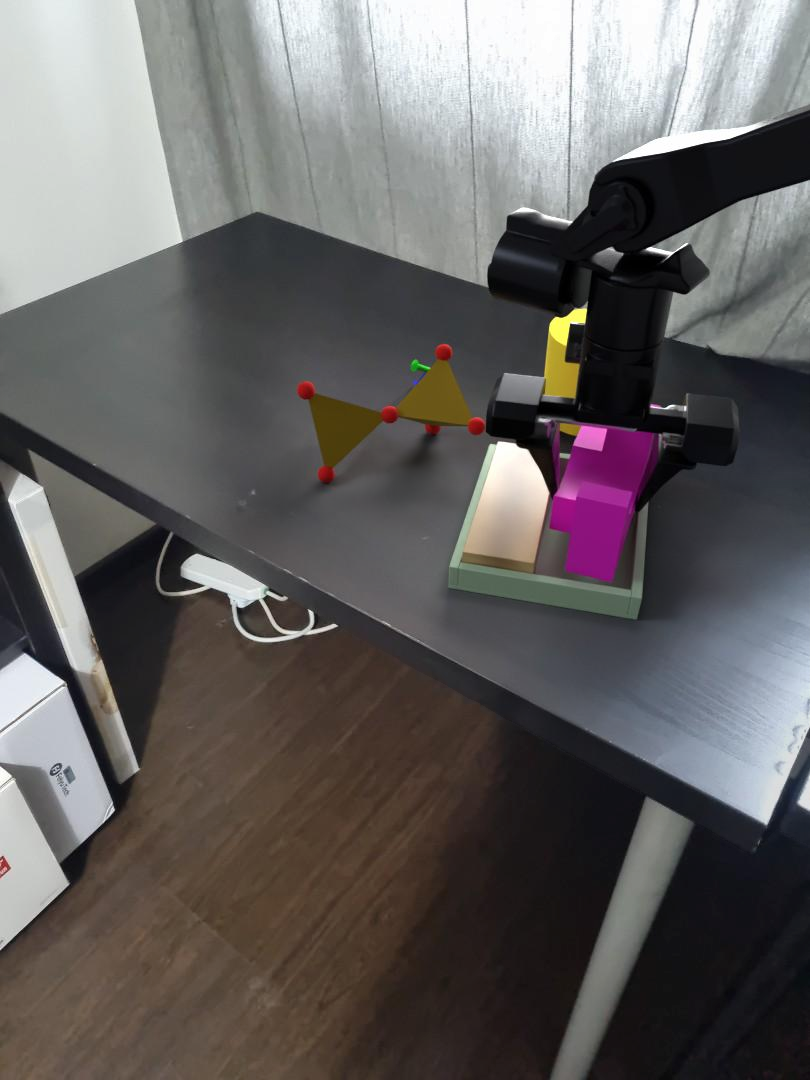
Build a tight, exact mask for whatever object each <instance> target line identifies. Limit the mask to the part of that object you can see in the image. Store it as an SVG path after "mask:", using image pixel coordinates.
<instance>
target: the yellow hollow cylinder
mask: <svg viewBox="0 0 810 1080" xmlns="http://www.w3.org/2000/svg"><path fill="white" fill-rule="evenodd" d="M586 311H587V308H577V309H574V310H573V311H572V312H571V313H570V314H569V315H568V316H566V317H564V318H558V317H554V318H553V319H552V320H551V322H550V323H549V328H548V334H547V335H548V336H547V345H546V354H545V365H544V375H543V378H546V387H545V395H550V396H559V397H568V398H575V395H576V387H577V380H578V372H579V364H575V363H566V362H565V353H566V345H567V339H568V333H569V327H570V322H579V323H585V319H586ZM580 429H581V426H580V425H572V424H564V423H560V432H562V433H564V434H566V435H571V436H574V437H577V435H578V433H579V431H580Z"/></svg>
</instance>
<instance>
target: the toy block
mask: <svg viewBox="0 0 810 1080" xmlns="http://www.w3.org/2000/svg"><path fill="white" fill-rule="evenodd" d="M651 407H658V408H661V405H658V404H653V403H651ZM655 435H656V433H648V432H640V431H637V432H629V431H621V430H613V429H605V428H596V427H588V426H581V429H580V431H579V433H578V435H577V436H576V437H575V439H574V442H573V444H572V448H571V451H570V454H571V455H570V458H569V462H568V465H567V468H566V471H565V474H564V477H563V479H562V482H561V484H560V486H559V488H558V491H557V492H556V494H555V495H554V497H553V504H552V512H551V519H550V527H549V529H553V530H557V531H561V532H566V533H570V534H571V535H570V541H569V548H568V554H567V561H566V567H565V571H568V572H572V573H576V574H580V575H584V576H588V577H591V578H595V579H599V580H603V581H607V582H611V583H612V581H613V577H614V574H615V571H616V568H617V565H618V561H619V558H620V555H621V552H622V549H623V546H624V542H625V539H626V536H627V533H628V530H629V526H630V523H631V520H632V517H633V514H634V511H635V503H636V497H637V493H638V488H639V485H640V482H641V479H642V476H643V474H644V471H645V468H646V465H647V462H648V459H649V457H650V454H651V451H652V448H653V444H654V439H655Z"/></svg>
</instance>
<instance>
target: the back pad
mask: <svg viewBox="0 0 810 1080" xmlns="http://www.w3.org/2000/svg"><path fill="white" fill-rule="evenodd" d="M496 445H497V446H496V449H495V452H494V455H493V458H492V461H491V464H490V468H489V471H488V474H487V477H486V480H485V483H484V486H483V490H482V493H481V496H480V499H479V502H478V505H477V508H476V511H475V515H474V518H473V521H472V524H471V527H470V530H469V533H468V537H467V540H466V543H465V546H464V549H463V554H462V562H463V563H469V564H475V565H481V566H487V567H493V568H499V569H506V570H512V571H518V572H524V573H530V574H535V571H536V566H537V561H538V557H539V552H540V547H541V542H542V538H543V533H544V528H545V524H546V519H547V514H548V510H549V505H550V500H551V496H550V493H549V491H548V488H547V486H546V483H545V481H544V478H543V476H542V474H541V471H540V469H539V468H538V466H537V464H536V463H535V461H534V459H533V458H532V456H531V454H530V453H529V451H528V450H527V449H522V448H519V447H517V445H516V443H514V442H506V441H497V443H496Z"/></svg>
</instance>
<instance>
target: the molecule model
mask: <svg viewBox="0 0 810 1080" xmlns="http://www.w3.org/2000/svg"><path fill="white" fill-rule="evenodd" d="M434 353H435V357H436V359H437V360H436V361H435V362H434V363H433V365H432V366H431V367H430V366H426V365H423V364H420V363H419V360H418V359H413V361H412V362H411V364H410V370H411V372H416V371H417V370H418V371H420V372H423V373H422V375H421V376H420V377H419V379H418V380H413V384H414V386H413V387H412V389H411V390H410V391H409V392H408V393H407V394H406V396H404V398H402V400H401V401H400V402H399V404H398V405H397V406H396V407H395V406H392V405H388V406H385V407H384V408H382V410H381V411H378V410H375V409H371V408H368V407H365V406H361V405H358V404H354V403H350V402H348V401H343V400H340V399H338V398H337V399H336V398H333V397H329V396H327V395H323V394H321V393H320V394H319V393H316V387H315V386H314V384H313V383H312V382H311V381H302V382H301V383H299V384H298V386H297V388H296V392H297V393H296V394H297V396H298V397H299V398H300V399H302V400H305V401H307V400H308V405H309V408H310V412H311V416H312V421H313V425H314V429H315V432H316V437H317V441H318V445H319V450H320V454H321V459H322V463H323V466H321V467H320V468H319V469H318V471H317V478H318V479H319V481H320V482H322V483H323V484H330V483H331V482H332V481H334V478H335V477H336V475H335V474H336V473H335V470H334V468H335V467H336V466H337V465H339V463H340V462H341V461H342V460H343V459H344V458H345V457H346V456H348V455H349V454H350V453H351V452H352V451H353V450H354V449H355V448H356V447H358V446H359V444H361V443H362V441H364V440H365V439H366V438H367V437H368V436H369V435H370V434H371V433H372V432H374V430H375V429H377V427H379V426H380V425H381V424H382V423H386V424H388V425H389V424H394V423H395V422H397V421H398V419H399V418H400V419H404V420H408V421H412V422H416V423H419V424H422V425H424V429H425V431H426V432H427V433H428V434H429V435H436V434H438V433H439V432H440V431H441V428H442V427H467V429H468V432H469V433H470V434H471V435H473V436H481V434H483V433H485V431H486V421H484V419H482V418H481V417H473V415H472V413H471V410H470V408H469V405H468V403H467V402H466V399H465V397H464V395H463V392H462V390H461V388H460V385H459V383H458V381H457V379H456V377H455V375H454V373H453V370H452V368H451V365H450V363H449V360H451V359H452V356H453V349H452V347H451V346H450V345H449V344H446V343H442V344H439V345H437V347H436V349H435V352H434Z"/></svg>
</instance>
